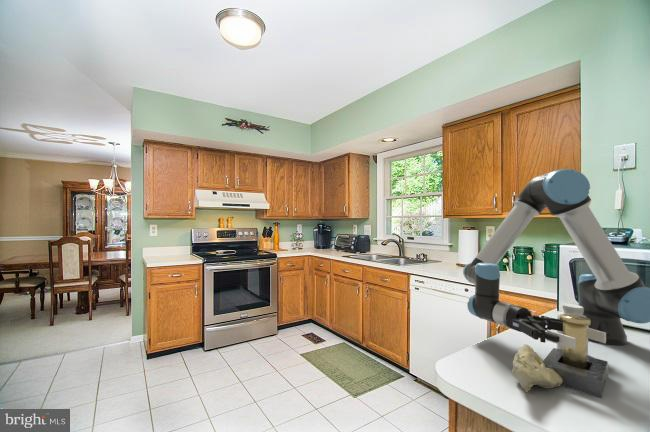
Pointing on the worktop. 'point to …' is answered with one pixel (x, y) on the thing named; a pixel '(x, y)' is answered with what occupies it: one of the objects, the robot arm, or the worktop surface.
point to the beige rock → (533, 370)
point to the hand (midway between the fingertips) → (590, 340)
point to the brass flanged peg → (576, 329)
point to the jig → (579, 373)
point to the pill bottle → (571, 310)
